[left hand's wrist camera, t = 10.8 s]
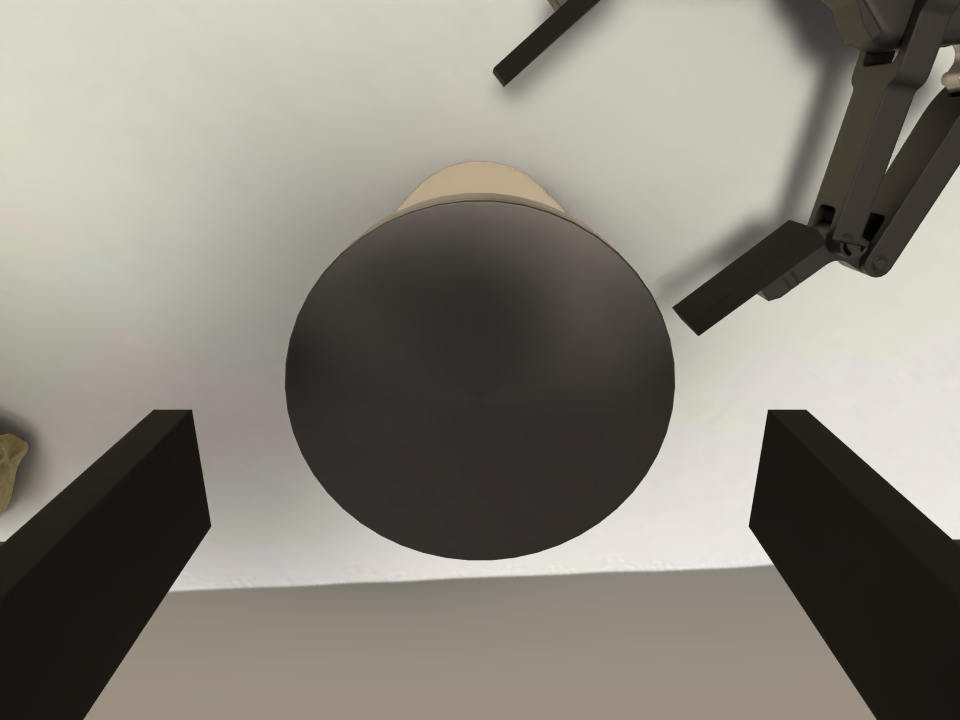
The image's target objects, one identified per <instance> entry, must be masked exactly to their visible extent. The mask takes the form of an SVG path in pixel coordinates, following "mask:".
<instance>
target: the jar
mask: <svg viewBox="0 0 960 720" xmlns="http://www.w3.org/2000/svg"><path fill="white" fill-rule="evenodd" d="M463 193H497V194H505V195H512V196H519V197H523V198H526V199H530V200H533V201H537V202H541V203H544V204H546V205H548V206H551V207H553V208H555V209H558V210H560V211H562V212H565V211H564V210H563V209H562V208H561V207H560V206H559V205H558V204H557V203H556V202H555V200H554V199H553V198H552V197H551V196H550V195H549V194H548V193H547V192H546V191H545V190H544V189H543V188H542V187H541V186H540V184H538V183H537V182H536V181H535V180H533V179H532V178H531V177H529V176H528V175H526V174H524V173H523V172H521V171H519V170H517V169H514V168H512V167H510V166H506V165H503V164H499V163H494V162H486V161H474V162H466V163H461V164H457V165H454V166H450V167H448V168H446V169H443V170H441V171H439V172H437V173H436V174H434V175H432V176H431V177H429V178H428V179H427V180H425V181H424V182H423V183H422V184H421V185H420V186H419V187H418V188H417V189H416V190H415V191H414V192H413V193H412V194H411V195H410V196H409V197H408V198H407V199H406V200H405V202H404V203H403V204H402V205H401V206H400V207H399V208H398V209H397V210H396V211H395V212H398V211H400V210H402V209H405V208H407V207H409V206H412V205H414V204H416V203H419V202H423V201H427V200H430V199H434V198H437V197H441V196H448V195H455V194H463ZM395 212H394V213H395ZM565 213H566V212H565Z"/></svg>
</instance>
